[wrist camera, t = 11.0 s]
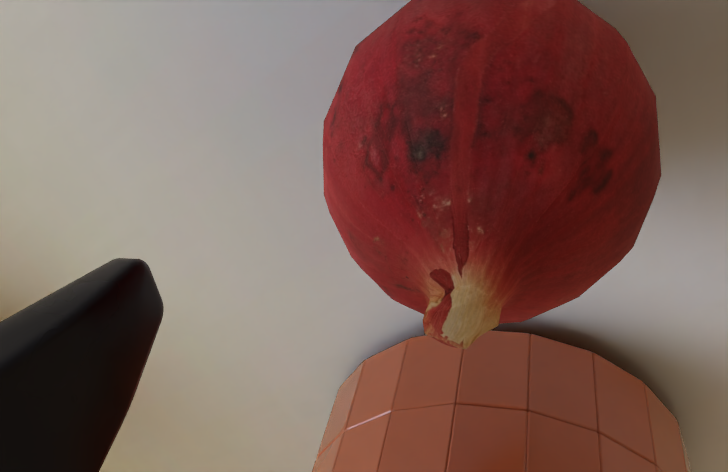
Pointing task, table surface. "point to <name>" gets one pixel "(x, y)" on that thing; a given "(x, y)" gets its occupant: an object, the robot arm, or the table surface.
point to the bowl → (497, 412)
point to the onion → (490, 158)
